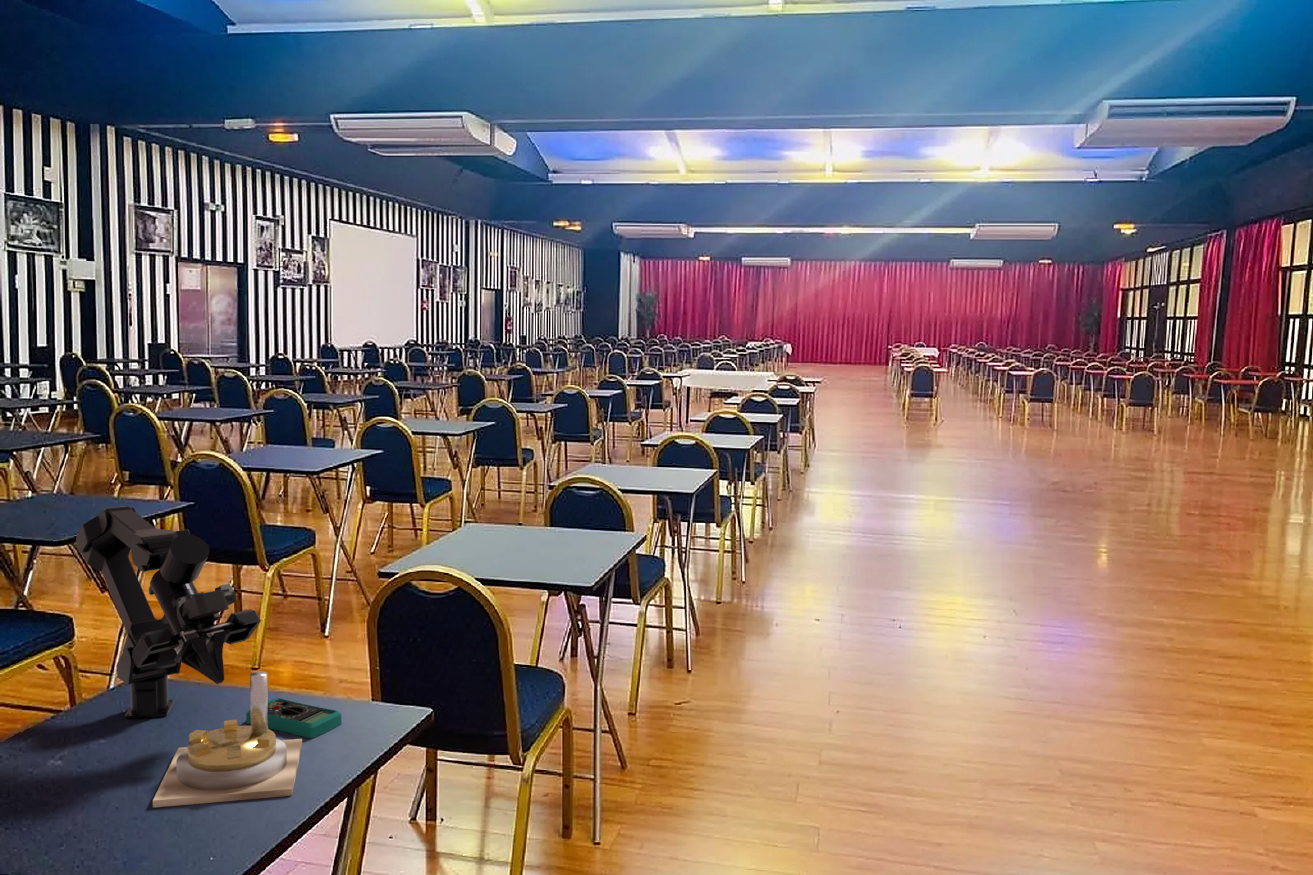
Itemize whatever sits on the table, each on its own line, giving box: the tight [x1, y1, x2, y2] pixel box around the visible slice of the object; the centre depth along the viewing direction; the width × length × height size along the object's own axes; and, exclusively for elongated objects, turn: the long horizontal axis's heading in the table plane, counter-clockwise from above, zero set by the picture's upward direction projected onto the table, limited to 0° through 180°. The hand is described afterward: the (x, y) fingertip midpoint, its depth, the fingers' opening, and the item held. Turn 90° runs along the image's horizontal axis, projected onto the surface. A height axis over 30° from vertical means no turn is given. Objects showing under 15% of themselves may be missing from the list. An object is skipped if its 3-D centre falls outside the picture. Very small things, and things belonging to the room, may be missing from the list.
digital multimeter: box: [245, 697, 342, 739], centre depth 170 cm, size 7×15×3 cm, turn 67°
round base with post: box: [186, 670, 277, 772], centre depth 150 cm, size 12×12×11 cm
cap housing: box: [152, 737, 303, 808], centre depth 151 cm, size 18×18×3 cm
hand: (220, 681), depth 158 cm, fingers closed
